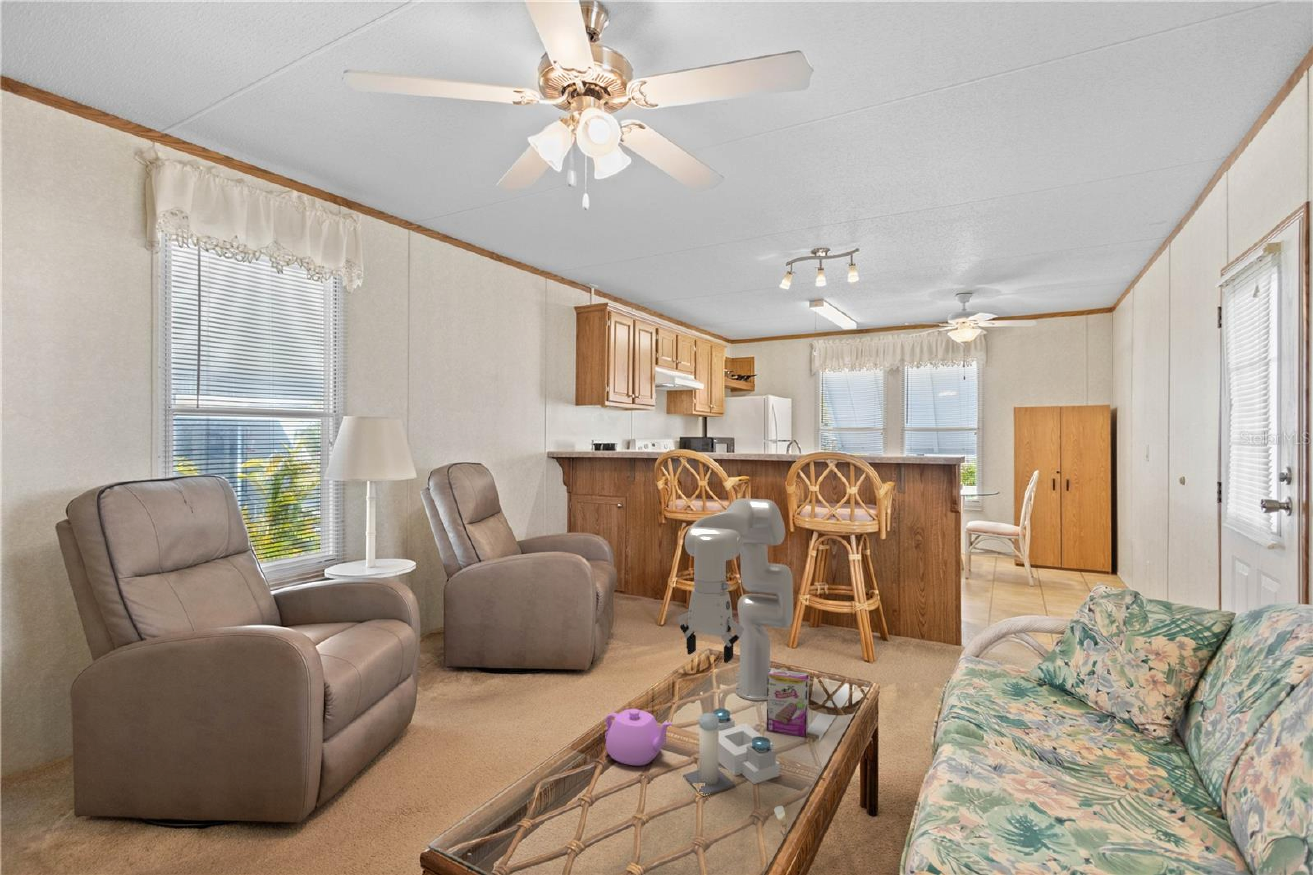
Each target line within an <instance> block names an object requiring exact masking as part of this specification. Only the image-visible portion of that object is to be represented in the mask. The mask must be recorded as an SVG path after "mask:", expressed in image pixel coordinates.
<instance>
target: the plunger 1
mask: <svg viewBox="0 0 1313 875" xmlns="http://www.w3.org/2000/svg"><path fill="white" fill-rule="evenodd" d="M730 712H731V711H730V710H728V709H727V708H722V707H721V708H715V709H714V710H713V712H712V713H713V714H716V715H717V716H718V717H719V723H723V722H726V721H727V719H728V718H729V717H730V718H731V713H730Z"/></svg>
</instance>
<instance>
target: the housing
mask: <svg viewBox="0 0 1313 875" xmlns="http://www.w3.org/2000/svg"><path fill="white" fill-rule="evenodd" d="M735 724H736V722H735V720H734V719H733V718H732V717H731V716H730V717H729V718H728V719H727V721H726V722H723V723H719V743H718V764H721V765H722V767H724V768H725V769H726V770H727V771H729V772H730V774H732V775H733V776H734V777H736V776H739V775H743V777H744V778H746V779H747V780H748V781H750V783H752V784H753V785H757V784H758V783H762V782H765V781H768V780H770V779H774V778H776V777H779V776H781V762H779V761H778V760H777V758H776V757H777V756H776V754H777V753H776V752H777V751H776V750H775V749H774V748H775V747H774V743H773V742H772V741H771V740H770V748H769V749H767V752H764V753H761V754H759V753H758V752H757V751H755V748H754V747H753V746H752V739H753V738H754V737H759V736H760V737H765V736H764V735H762V734H761V733H760V732H758V731H757V730H756V729H754V728H752V727H751V726H750V725H749V724H747V723H746V722H745V723H741V724H738V725H735Z"/></svg>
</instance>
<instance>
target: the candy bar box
mask: <svg viewBox="0 0 1313 875" xmlns="http://www.w3.org/2000/svg"><path fill="white" fill-rule="evenodd" d="M809 691H810V673H807V672H799V671H794V670H792V671H791V670H785V669H779V668H773V667H770V670H769V672H768V679H767V700H766V732H773V733H778V734H783V735H790V736H794V737H795V736H796V737H801V738H807V734H808V731H809V699H810V698H809V696H810V695H809V693H810V692H809Z"/></svg>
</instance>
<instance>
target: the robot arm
mask: <svg viewBox="0 0 1313 875" xmlns="http://www.w3.org/2000/svg"><path fill="white" fill-rule="evenodd" d="M785 526H786V525H785V522H784V519H783V517H782V513H781V511H780V509H779V506H778V505H777V504H776V502H774V500H770V499H767V498H766V499H763V498H745V497H744V498H737V499H735V500H733V501H732V502H731V503H730V504H729V505H728V506H727V507H726V508H725V509H724V511H723V512H719V513H716V514H712V515H708V516H704V517H702V518H699V519H697V520H696V521H694V522H693V523H692V524H691V526H689V528H688V530H687V532H686V534H685V538H684V548H685V551H686V552H687V554H688V555H690V556H691V557H693V558H694V559H693V560H694V563H693V565H694V568H693V569H694V570H693V571H694V572H693V574H694V575H693V576H694V578H693V582H694V583H693V585H694V586H693V589H692V590H691V594H690V598H689V605H688V612H686V613H683V614H681V615H679V616H677V617H676V619H677V622H678V625H679V626H680V627H679V628H680V629H681V631H682V633H683V634H684V637H685V638H686V651H687V655H688V656H689V655H692V654H693V653H696V650H697V636H696V634H695V633H697V634H698V633H699V634H702V635H708V636H712V637H716V638H717V637H719V638H721V640H722V642H724V644H725V645H723V663H724V664H728V663H729V662H731V661H732V659H733V658H734V644H735V643H737V641H739V670H738V673H735V675H734V677H735V678H736V679H738V683H737V684H736V685H735V687H734V692H735V694H736V695H737V696H738V697H740V698H742V699H745V700H747V701H755V702H758V701H767V679H768V672H769V670H770V668H771V638H770V634H769V633H768V631H767V629H766V628H765V627H771V628H778V629H786V628H790V627H791V625H792V624H793V620H794V587H793V585H794V583H793V581H794V580H793V574H792V570H791V568H789V566H787V565H786V564H782V563H772V562H771V563H770V562H769V559H768V558H769V557H768V547H767V546H778V545H779V546H780V545H781V544H782V543H783V541H784V540H785V536H786V527H785ZM739 555H740V557H739V558H740V579H741V580H740V581H741V585H742V588H743V589H744V590H745V591H746V592H750V593H746V594H743V595H741V596H740V598H738V600H737V608H736V609H737V614H738V621H739V622H736V621H735V620H734V619H733V607H732V601H731V595H730V592H729V591H730V590H731V589H732V585H731V583H727V565H726V564H727V561H731V560H732V561H733V560H734V559H736V558H738V556H739ZM686 620H688V621H687V623H686ZM733 630H734V631H735V633H734V635H733V634H732V633H731V632H733Z"/></svg>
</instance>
